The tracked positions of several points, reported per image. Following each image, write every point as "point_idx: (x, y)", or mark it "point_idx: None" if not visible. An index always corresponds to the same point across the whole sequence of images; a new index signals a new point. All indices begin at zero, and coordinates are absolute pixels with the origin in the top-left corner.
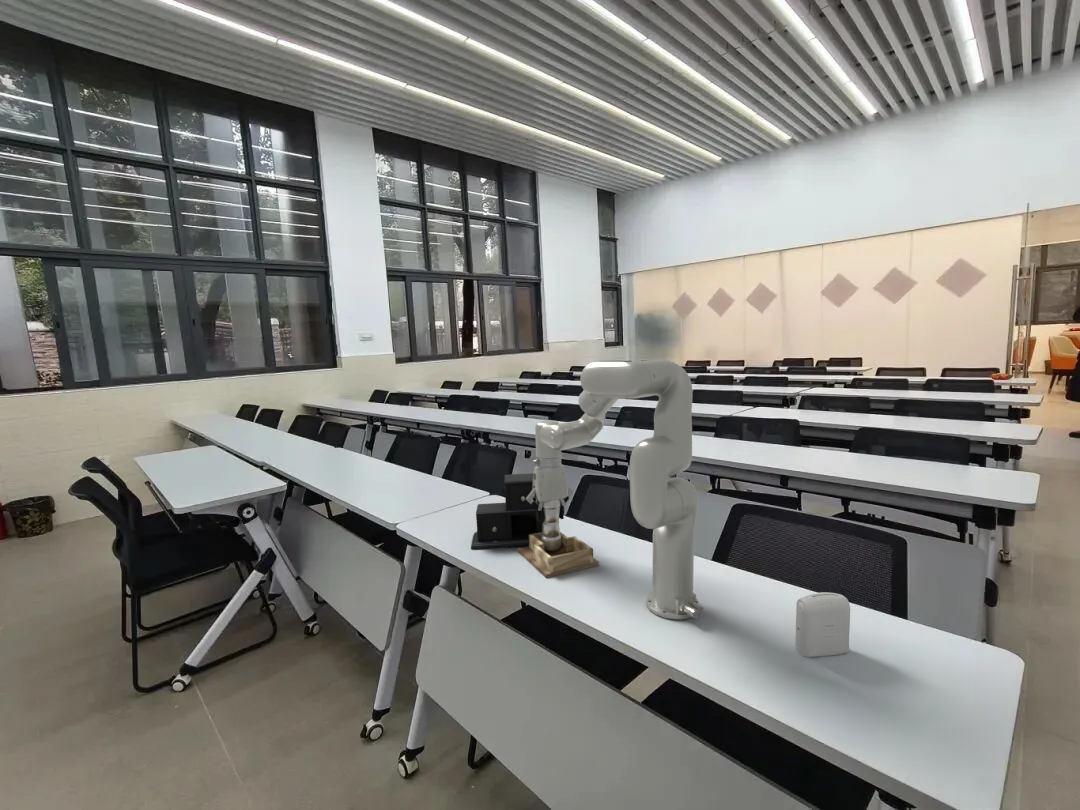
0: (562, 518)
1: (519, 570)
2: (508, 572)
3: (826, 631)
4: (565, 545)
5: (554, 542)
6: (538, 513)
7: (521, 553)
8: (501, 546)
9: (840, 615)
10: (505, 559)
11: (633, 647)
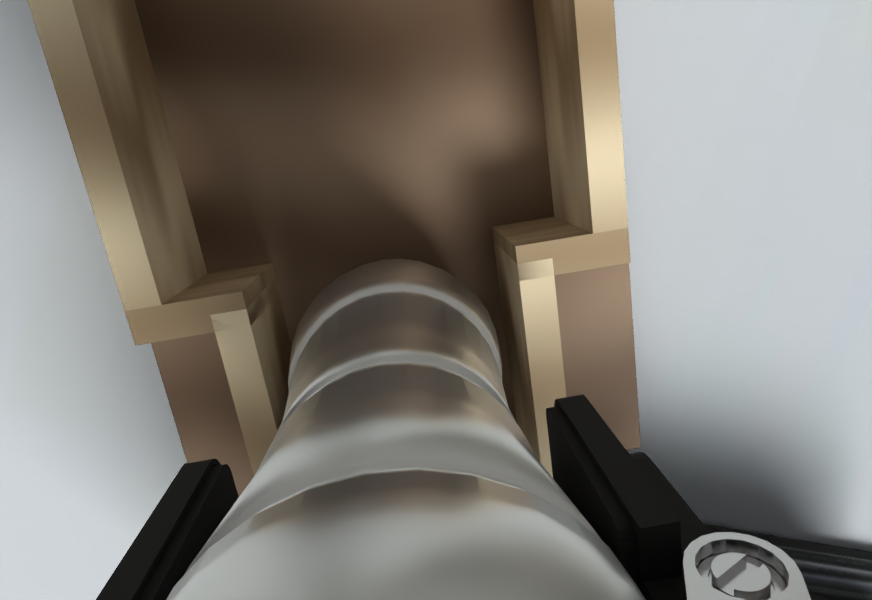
0: (203, 461)
1: (735, 106)
2: (824, 101)
3: None
4: (268, 302)
5: (392, 270)
6: (690, 517)
7: (631, 374)
8: (725, 530)
9: None
10: (758, 336)
11: None
